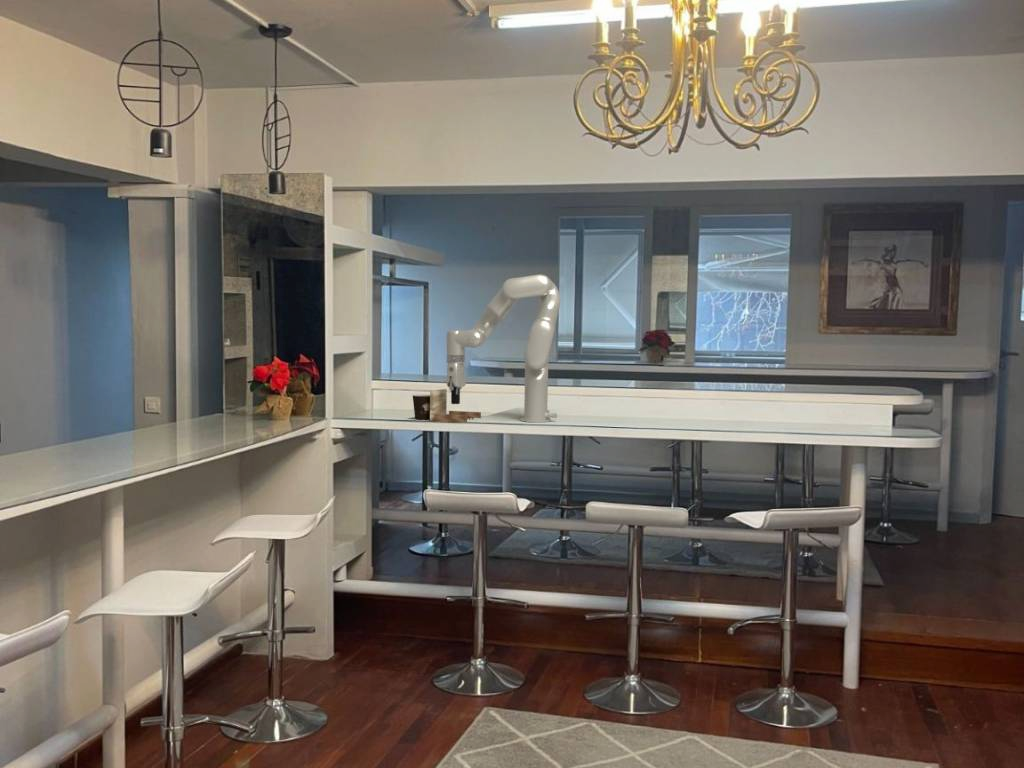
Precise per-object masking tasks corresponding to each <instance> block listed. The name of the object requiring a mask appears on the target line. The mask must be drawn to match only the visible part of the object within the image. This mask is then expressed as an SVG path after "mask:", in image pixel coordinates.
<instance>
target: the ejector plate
mask: <svg viewBox="0 0 1024 768" xmlns="http://www.w3.org/2000/svg"><path fill="white" fill-rule="evenodd" d="M447 392H448V391H447V389H445V388H443V389H436V390H430V392H429V395H430V420H429V421H434V414H447V406H448V405H447V399H448V397H447V395H448V394H447Z"/></svg>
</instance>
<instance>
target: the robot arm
mask: <svg viewBox="0 0 1024 768" xmlns="http://www.w3.org/2000/svg"><path fill="white" fill-rule="evenodd" d="M560 295H561V294H560V291H559V289H558V287H557V285H556V284H555V283H554V282H553V281H552V280H551V279H550V278H549V277H548V276H547V275H545V274H541V273H540V274H539V273H538V274H534V275H527V276H526V275H525V276H522V277H511V278H509V279H508V278H507V280H506V281H504V282H503V284H502V287H501V288H500V289H499V291H498V292H497V293H496V294H495V296H494V297H493V298H492V299H491V301H489V303H488V304H487V306H486V307H485V309H484V312H483V314H481V317H480V318H479V319H478V321H477V322H476V323H475V324H474V326H473V327H472V328H471V329H468V330H467V329H466V330H463V329H448V330H447V332H446V364H447V368H446V386H447V387H448V390H449V391H450V399H451V400H450V403H451V405H459V404H461V389H462V388H463V387H465V386H466V383H467V381H466V380H467V379H466V366H465V363H466V361H465V359H466V357H465V356H466V355H465V353H466V348H472V349H473V348H478V347H481V346H482V345H483V344H484V343H485V342H486V341H487V340H488V338H489V337H490V335H491V334H492V333H493V332H494V330H495V329H496V327H498V325H499V324H500V323H501V322H502V321H503V319H504V318H505V317H506V316H507V314H508V313H509V312H510V311H511V310H512V309H513V308H514V306H515V305H516V304H517V303H518V301H519V300H520V299H524V298H525V299H526V298H531V297H532V298H533V297H539V298H538V299H539V302H538V307H537V311H536V315H535V319H534V322H533V324H532V326H531V327H530V331H529V333H528V334H529V336H528V338H527V339H528V340H527V343H526V347H525V351H524V355H523V357H524V358H523V359H524V361H525V362H524V363H525V364H524V408H523V410H524V413H523V414H524V415H523V416H524V417H520V420H521V422H523V421H526V422H525V423H549V422H551V421H552V419H551V418H554V419H556V418H558V413H556V412H550V410H548V397H549V395H548V394H549V393H548V392H549V391H548V390H549V389H548V388H549V387H548V385H549V360H550V359H549V355H550V351H551V347H552V344H553V339H554V335H555V332H556V331H555V330H556V324H557V320H558V316H559V310H560V305H561V296H560Z"/></svg>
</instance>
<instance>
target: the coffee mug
mask: <svg viewBox="0 0 1024 768" xmlns="http://www.w3.org/2000/svg"><path fill="white" fill-rule="evenodd" d="M412 402H413V413H414V420H415V419H416V421H429V420H428V419H430V394H412Z"/></svg>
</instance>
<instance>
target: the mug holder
mask: <svg viewBox="0 0 1024 768" xmlns="http://www.w3.org/2000/svg"><path fill="white" fill-rule="evenodd" d="M467 418H481V419H482V412H479V411H462V410H460V411H458V410H448V414H447V413H446V414H434V420H433V422H436V423H437V422H439V423H457V424H459V423H460V424H462V423H463V424H466V423H467V424H468V419H467Z"/></svg>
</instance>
